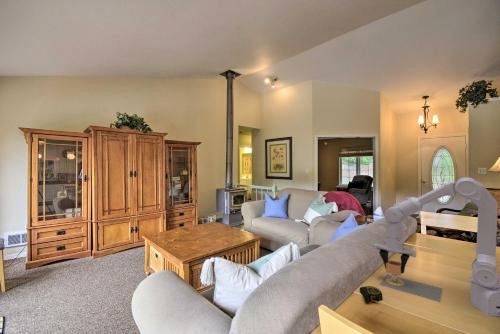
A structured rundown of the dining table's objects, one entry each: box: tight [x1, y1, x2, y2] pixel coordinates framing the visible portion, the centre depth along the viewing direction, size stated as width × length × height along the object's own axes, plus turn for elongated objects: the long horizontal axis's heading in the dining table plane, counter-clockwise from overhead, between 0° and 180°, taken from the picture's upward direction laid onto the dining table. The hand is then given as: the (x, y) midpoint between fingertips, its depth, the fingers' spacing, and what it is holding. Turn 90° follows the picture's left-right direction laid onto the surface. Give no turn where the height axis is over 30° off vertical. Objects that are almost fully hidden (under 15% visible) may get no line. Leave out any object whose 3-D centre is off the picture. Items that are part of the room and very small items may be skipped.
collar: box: [385, 259, 403, 277], centre depth 98 cm, size 5×5×4 cm
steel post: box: [391, 274, 399, 283], centre depth 98 cm, size 2×2×6 cm
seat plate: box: [379, 273, 444, 303], centre depth 94 cm, size 19×12×2 cm, turn 48°
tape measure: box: [359, 285, 383, 304], centre depth 88 cm, size 7×7×4 cm
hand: (394, 270), depth 98 cm, fingers closed on collar, 5 cm apart
